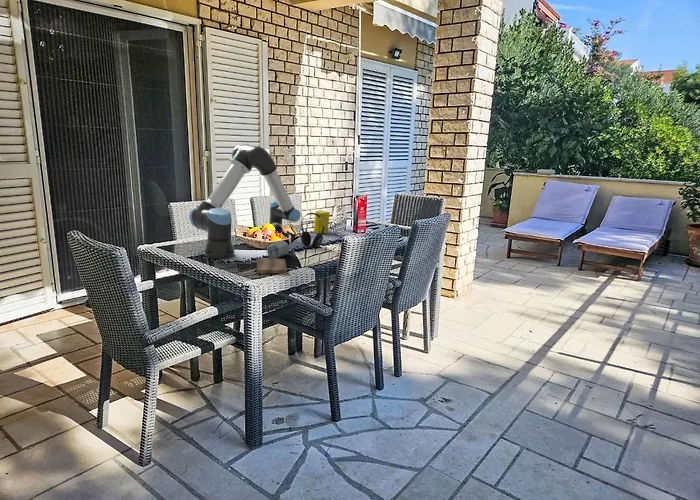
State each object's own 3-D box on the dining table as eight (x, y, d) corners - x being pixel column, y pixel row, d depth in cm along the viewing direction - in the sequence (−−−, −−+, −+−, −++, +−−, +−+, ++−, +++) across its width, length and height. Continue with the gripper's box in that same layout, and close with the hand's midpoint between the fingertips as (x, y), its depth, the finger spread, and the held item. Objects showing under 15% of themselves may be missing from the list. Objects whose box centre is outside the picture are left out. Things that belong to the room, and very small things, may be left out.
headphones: (303, 243, 275) (305, 209, 270) (326, 247, 271) (328, 213, 265) (296, 246, 268) (298, 212, 262) (320, 250, 263) (322, 215, 257)
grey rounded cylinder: (278, 256, 235) (274, 237, 237) (264, 260, 240) (261, 242, 242) (295, 257, 247) (291, 239, 249) (281, 261, 252) (278, 244, 253)
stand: (256, 273, 217) (256, 269, 216) (256, 262, 234) (256, 258, 233) (286, 274, 220) (286, 270, 219) (284, 262, 237) (284, 258, 236)
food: (311, 235, 301) (318, 233, 310) (327, 234, 296) (334, 231, 305) (308, 211, 299) (315, 210, 308) (324, 210, 294) (331, 208, 303)
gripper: (297, 237, 277) (300, 246, 257) (254, 236, 272) (254, 246, 252) (297, 224, 275) (300, 233, 255) (254, 223, 270) (254, 232, 250)
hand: (277, 239), depth 254 cm, fingers open, 13 cm apart
